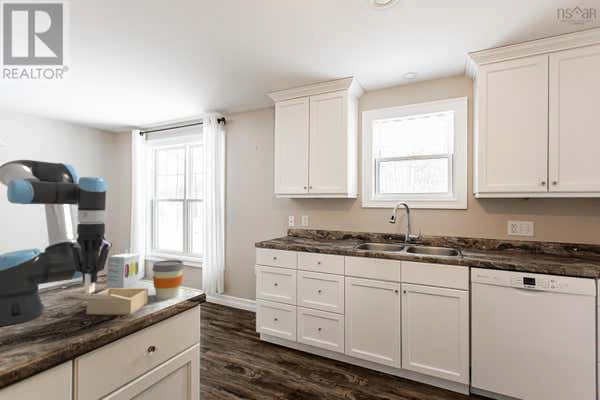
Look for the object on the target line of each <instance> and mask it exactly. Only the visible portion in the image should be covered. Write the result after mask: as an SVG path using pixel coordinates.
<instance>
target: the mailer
mask: <svg viewBox="0 0 600 400" xmlns="http://www.w3.org/2000/svg"><path fill="white" fill-rule="evenodd" d="M96 294H114V295H118V296H123V297H127V298H131V300H95V299H86V315H114V316H115V315H117V316H118V315H120V316H121V315H123V316H124V315H125V316H128V315H129V316H131V315H132V314H134V313H135V312H137V311H139V310H140V309H141V308H143V307H145V306H146V305H147V304H148V299H149V288H138V289H132V288H108V289H106V288H105V289H104V290H102V291H100V292H97V293H96Z"/></svg>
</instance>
